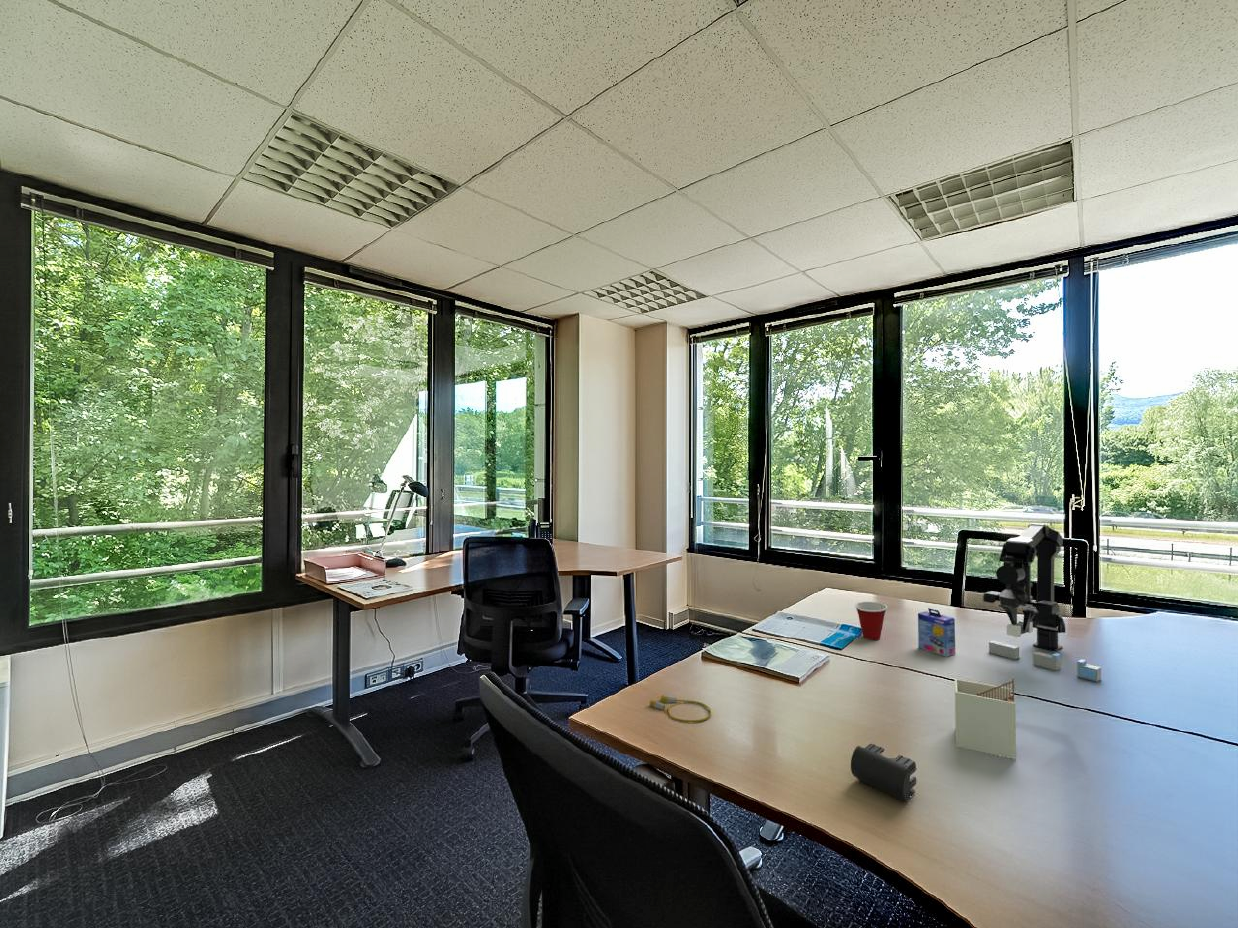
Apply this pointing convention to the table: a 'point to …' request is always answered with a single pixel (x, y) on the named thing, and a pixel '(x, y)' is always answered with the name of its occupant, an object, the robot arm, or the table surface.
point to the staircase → (985, 718)
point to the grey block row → (1046, 660)
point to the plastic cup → (871, 618)
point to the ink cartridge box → (936, 633)
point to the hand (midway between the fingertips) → (1019, 629)
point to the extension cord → (672, 700)
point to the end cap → (884, 771)
